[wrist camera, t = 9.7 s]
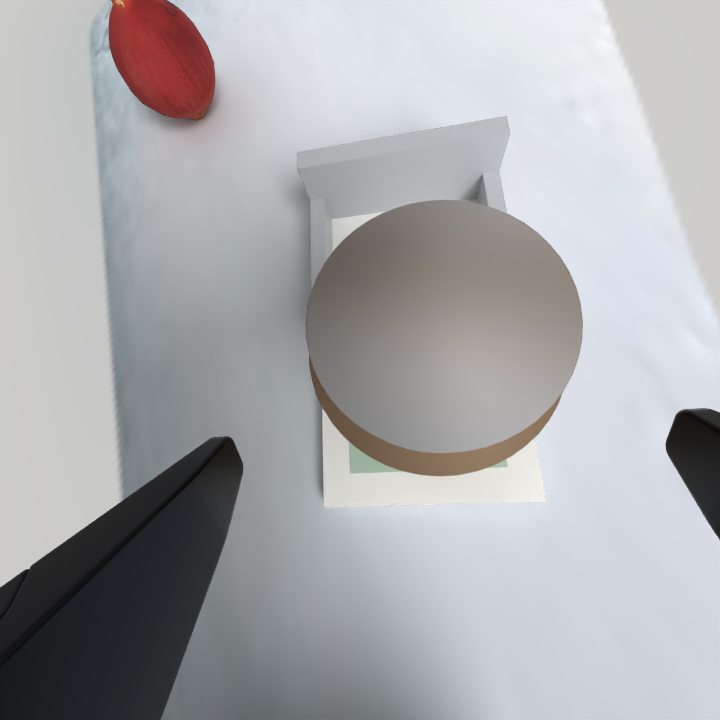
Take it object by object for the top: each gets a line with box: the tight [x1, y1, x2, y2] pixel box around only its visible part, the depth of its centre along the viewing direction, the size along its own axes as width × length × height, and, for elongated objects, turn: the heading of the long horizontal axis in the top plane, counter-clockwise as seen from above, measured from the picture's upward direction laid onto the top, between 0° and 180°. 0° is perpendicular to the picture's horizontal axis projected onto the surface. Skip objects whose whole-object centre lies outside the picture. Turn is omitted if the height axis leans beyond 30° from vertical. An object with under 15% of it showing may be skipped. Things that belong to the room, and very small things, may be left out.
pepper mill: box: [306, 200, 583, 476], centre depth 11 cm, size 5×5×12 cm
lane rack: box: [297, 116, 546, 508], centre depth 17 cm, size 17×10×5 cm, turn 3°
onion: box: [109, 0, 215, 120], centre depth 22 cm, size 6×6×8 cm
